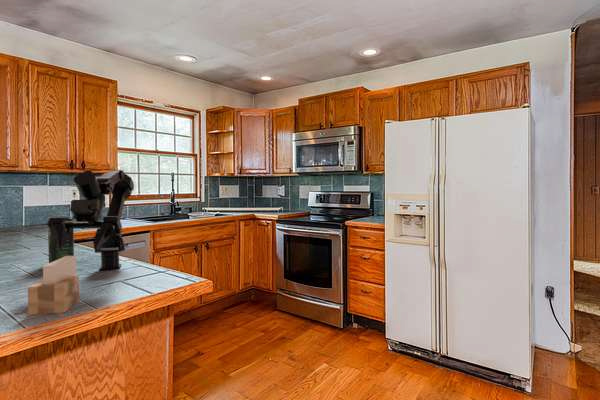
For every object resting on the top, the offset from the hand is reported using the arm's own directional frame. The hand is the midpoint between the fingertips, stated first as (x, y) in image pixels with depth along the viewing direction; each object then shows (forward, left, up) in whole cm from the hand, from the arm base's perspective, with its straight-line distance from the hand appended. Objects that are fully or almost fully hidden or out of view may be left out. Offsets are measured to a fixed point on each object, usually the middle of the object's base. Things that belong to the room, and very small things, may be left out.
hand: (78, 248), depth 98 cm
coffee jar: (-41, -13, -12) cm, 44 cm away
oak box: (+14, -2, -12) cm, 19 cm away
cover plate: (+11, -2, -12) cm, 16 cm away
